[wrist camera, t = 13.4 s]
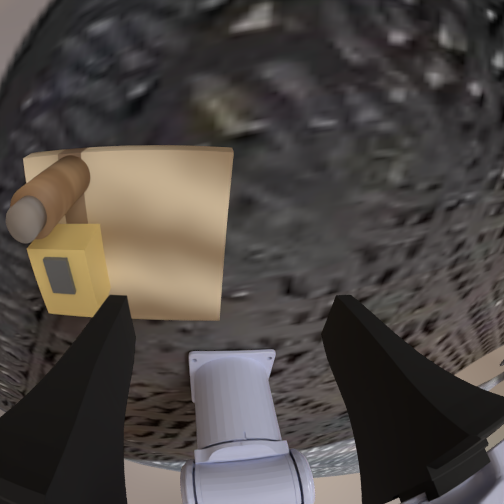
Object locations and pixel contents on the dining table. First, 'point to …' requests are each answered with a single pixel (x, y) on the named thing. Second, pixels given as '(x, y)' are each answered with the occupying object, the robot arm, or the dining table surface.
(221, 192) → the plywood panel
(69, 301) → the stud finder
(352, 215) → the dining table surface
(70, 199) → the brown gray-topped cylinder
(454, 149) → the dining table surface
